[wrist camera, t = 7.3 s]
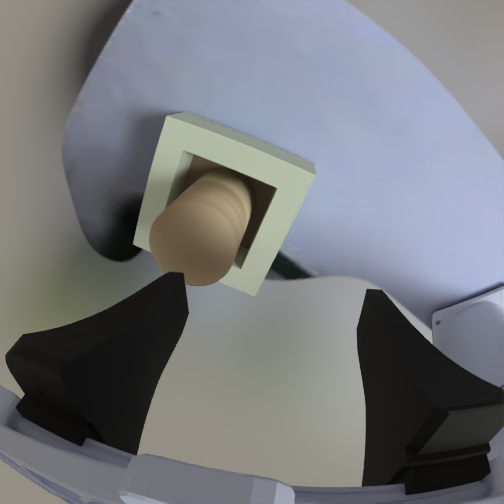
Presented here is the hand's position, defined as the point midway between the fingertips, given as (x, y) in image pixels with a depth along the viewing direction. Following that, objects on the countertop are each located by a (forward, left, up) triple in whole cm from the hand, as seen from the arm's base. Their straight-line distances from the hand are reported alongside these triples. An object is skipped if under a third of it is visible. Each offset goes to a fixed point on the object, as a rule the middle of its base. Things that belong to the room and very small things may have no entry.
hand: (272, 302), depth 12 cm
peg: (+3, +3, -9) cm, 10 cm away
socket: (+3, +3, -9) cm, 10 cm away
